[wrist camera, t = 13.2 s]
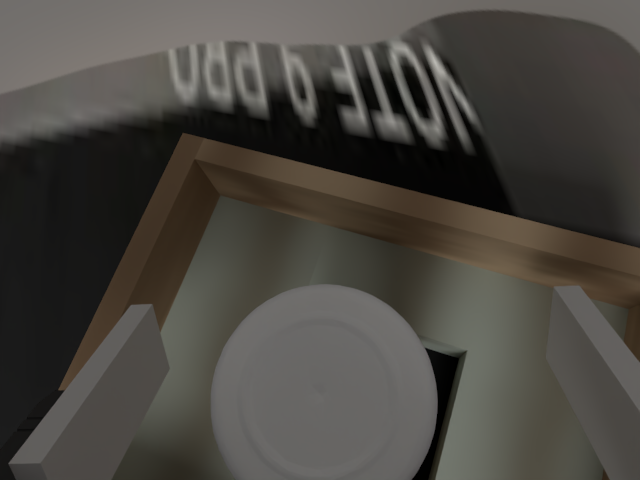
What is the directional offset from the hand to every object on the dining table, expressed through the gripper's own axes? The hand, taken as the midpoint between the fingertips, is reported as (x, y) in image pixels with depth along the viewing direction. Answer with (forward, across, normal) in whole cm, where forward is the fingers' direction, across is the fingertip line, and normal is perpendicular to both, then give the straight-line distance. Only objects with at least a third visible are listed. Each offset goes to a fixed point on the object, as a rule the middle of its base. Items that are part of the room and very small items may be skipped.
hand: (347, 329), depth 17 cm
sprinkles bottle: (+3, 0, -7) cm, 7 cm away
